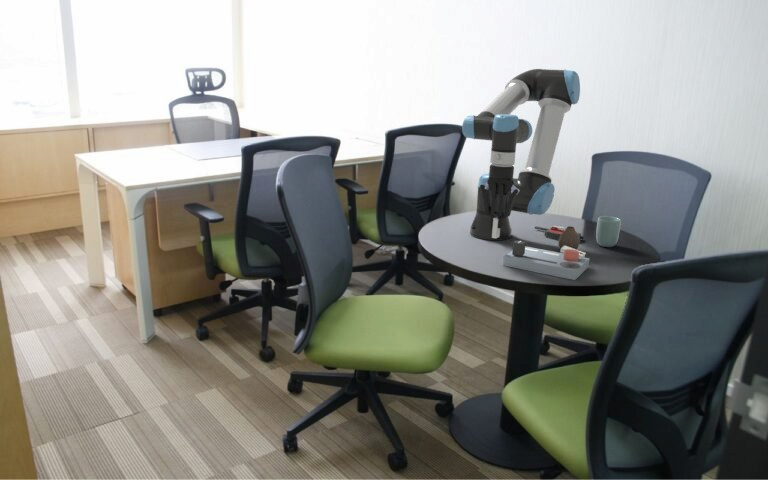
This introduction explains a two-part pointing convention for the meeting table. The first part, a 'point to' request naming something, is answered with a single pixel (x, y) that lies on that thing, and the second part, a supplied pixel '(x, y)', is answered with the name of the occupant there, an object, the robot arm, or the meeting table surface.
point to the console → (546, 263)
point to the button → (571, 255)
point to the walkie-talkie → (555, 232)
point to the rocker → (581, 254)
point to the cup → (607, 231)
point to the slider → (518, 248)
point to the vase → (569, 238)
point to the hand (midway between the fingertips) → (495, 237)
